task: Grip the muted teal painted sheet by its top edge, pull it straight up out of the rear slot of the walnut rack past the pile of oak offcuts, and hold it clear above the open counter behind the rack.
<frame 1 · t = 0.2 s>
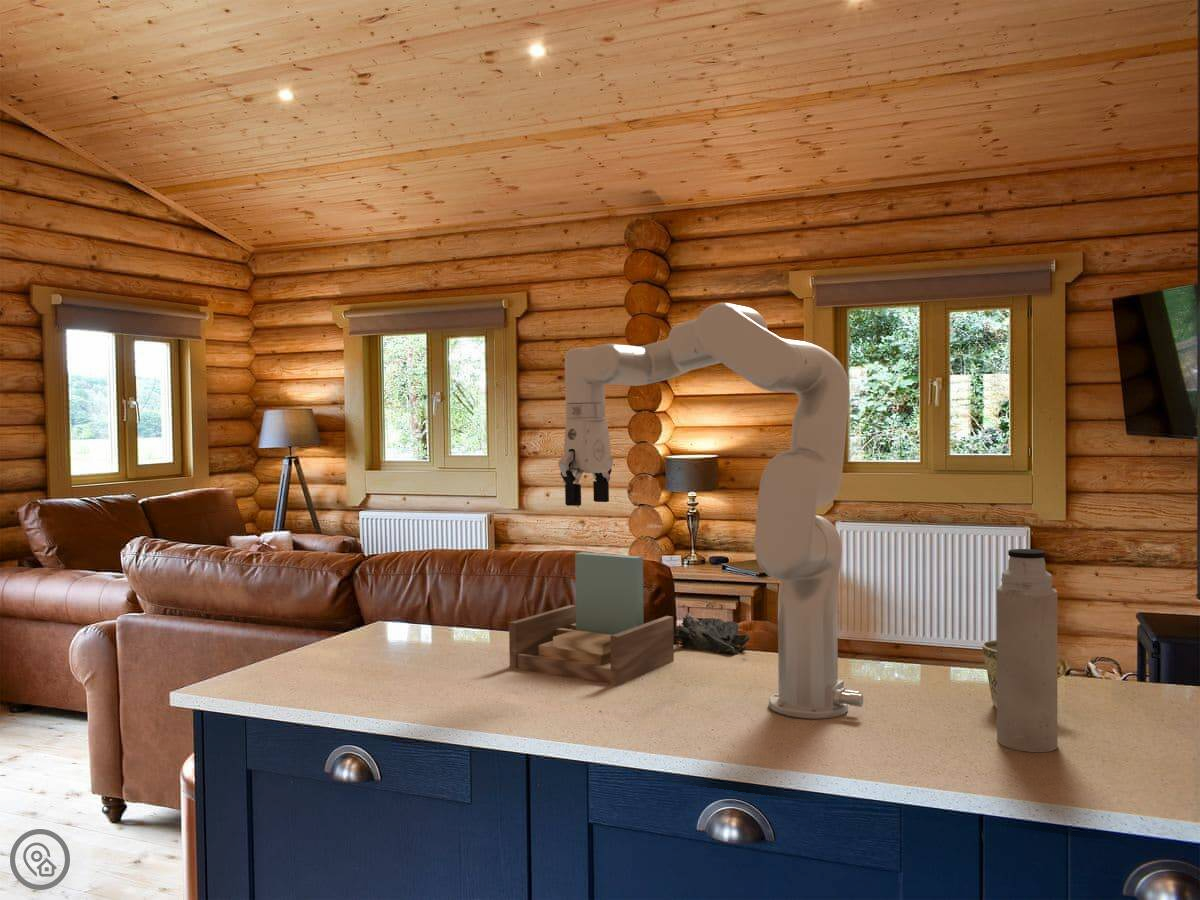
hand: (587, 503, 180), 32 cm above the worktop, fingers open, 9 cm apart
teal sheet: (609, 657, 184), point 1 cm above the worktop, touching walnut rack
walnut rack: (592, 672, 179), on the worktop
offcut stack: (584, 667, 177), point 1 cm above the worktop, touching walnut rack
thermos bottle: (1026, 744, 136), on the worktop
mineral specimen: (711, 656, 192), on the worktop
ceramic cup: (1024, 711, 152), on the worktop
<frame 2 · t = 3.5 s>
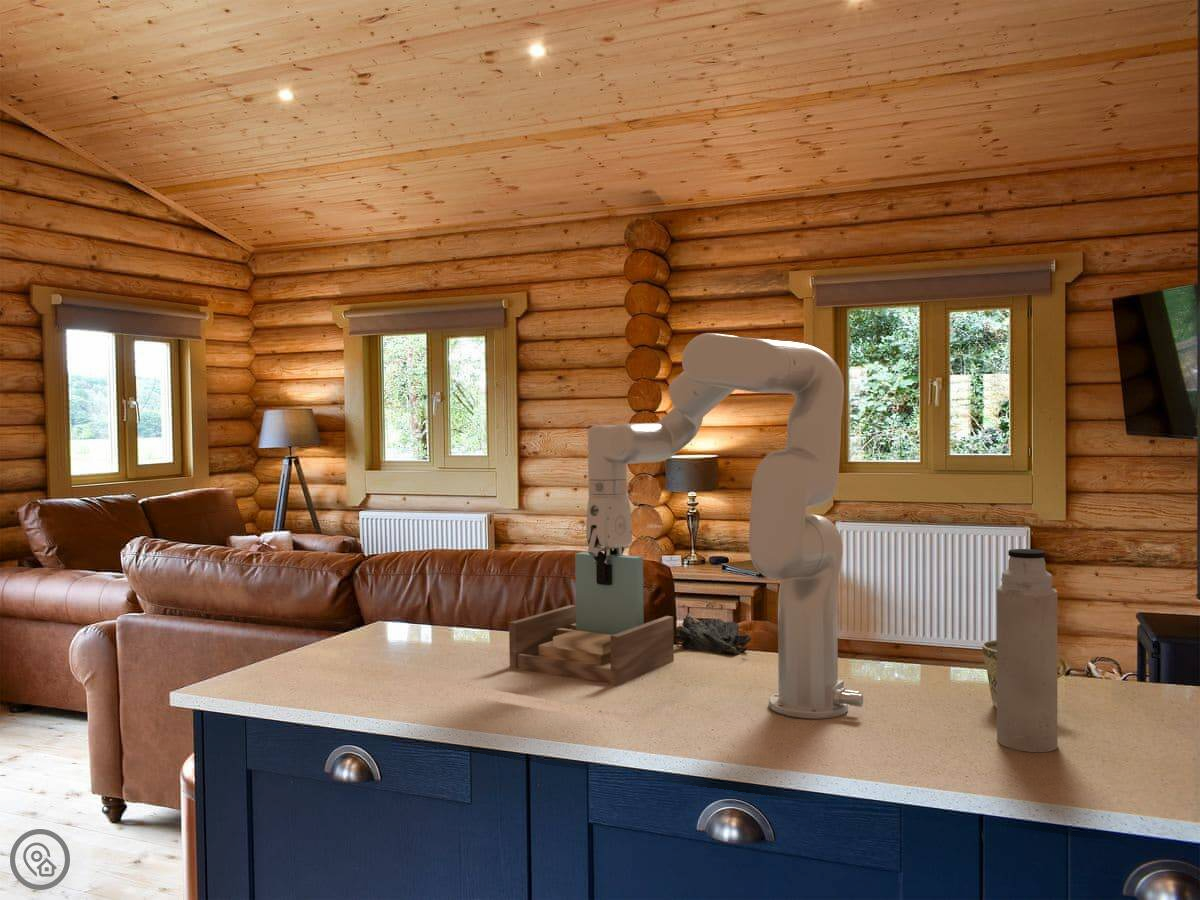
hand: (608, 582, 184), 16 cm above the worktop, fingers closed on teal sheet, 2 cm apart
teal sheet: (609, 657, 184), point 2 cm above the worktop, touching gripper, walnut rack
everything else where it was.
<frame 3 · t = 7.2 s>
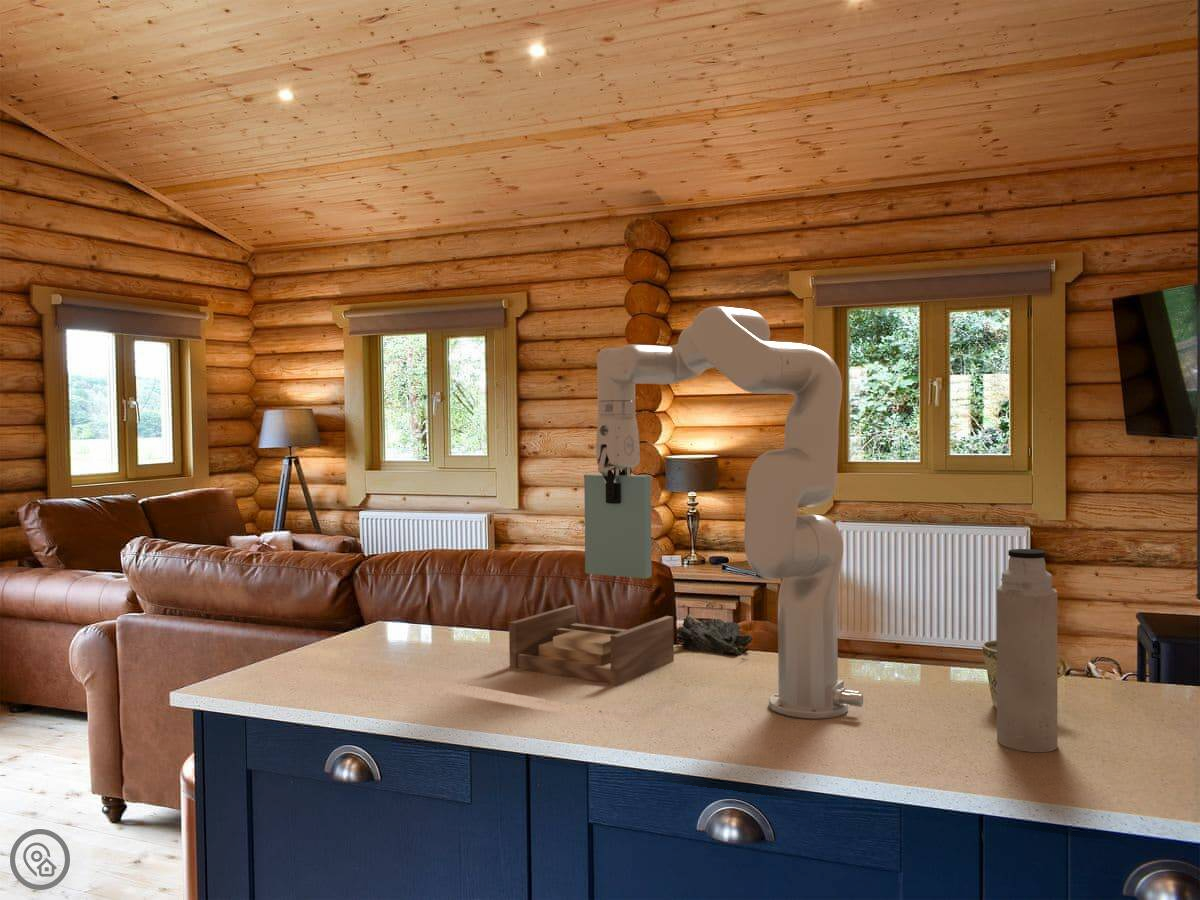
hand: (617, 501, 189), 31 cm above the worktop, fingers closed on teal sheet, 2 cm apart
teal sheet: (617, 575, 189), point 17 cm above the worktop, touching gripper
everything else where it was.
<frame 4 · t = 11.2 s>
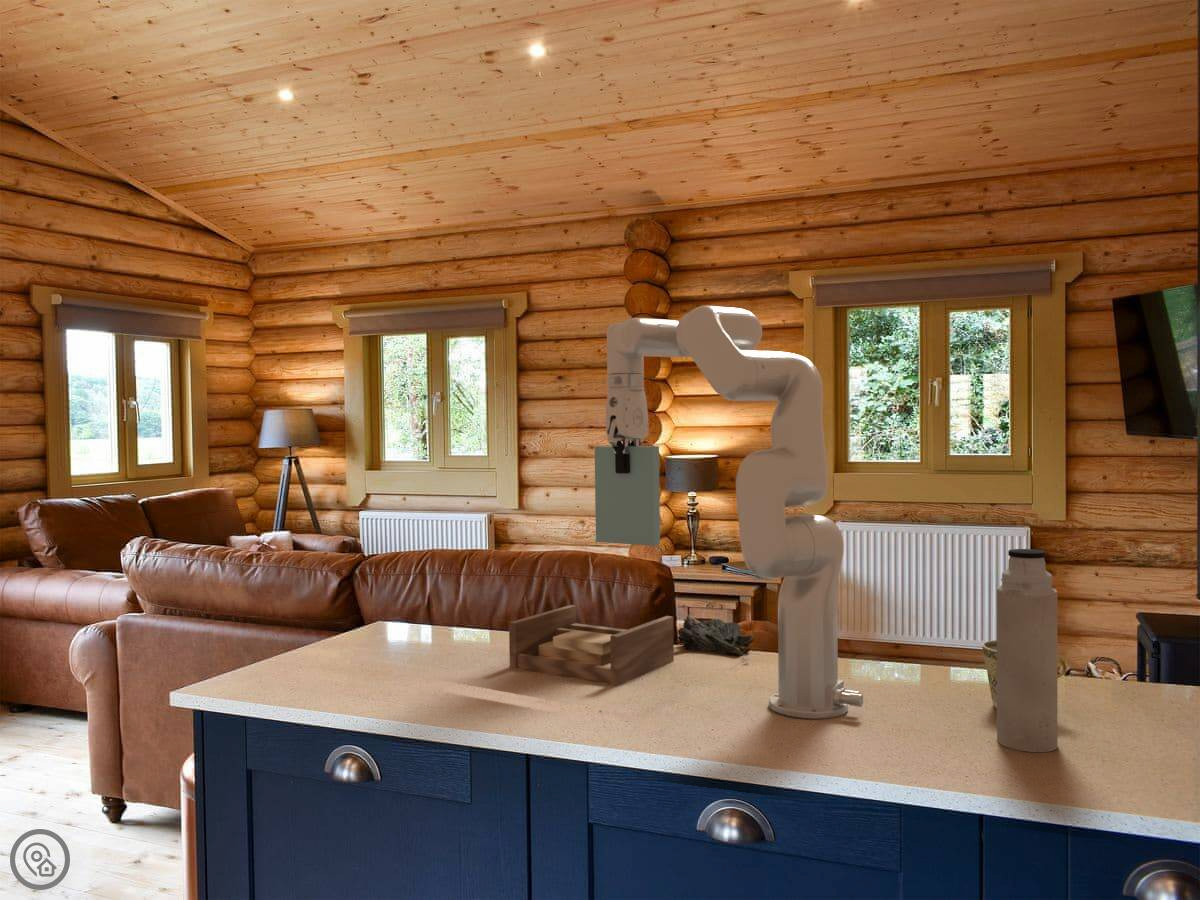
hand: (626, 472, 195), 37 cm above the worktop, fingers closed on teal sheet, 2 cm apart
teal sheet: (627, 543, 195), point 22 cm above the worktop, touching gripper
at the end: teal sheet inside the target area (1.0 cm from its centre), point 22.3 cm above the worktop; the gripper is holding teal sheet; offcut stack moved 0.0 cm from its start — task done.
